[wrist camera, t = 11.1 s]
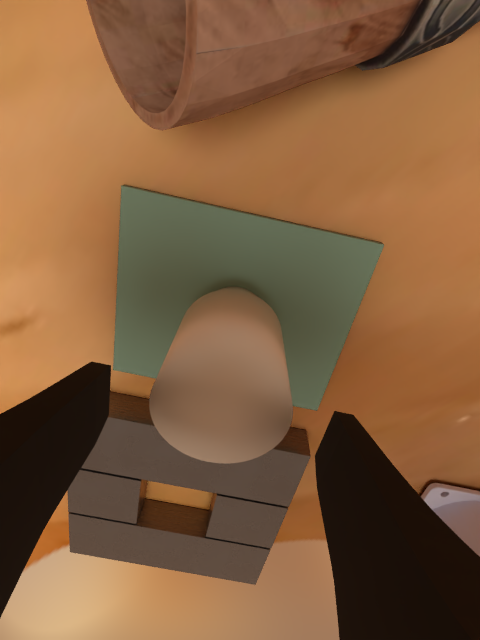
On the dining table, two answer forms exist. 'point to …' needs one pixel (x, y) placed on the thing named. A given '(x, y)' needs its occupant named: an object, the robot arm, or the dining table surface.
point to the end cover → (224, 380)
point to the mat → (235, 281)
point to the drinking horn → (257, 47)
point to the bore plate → (175, 520)
